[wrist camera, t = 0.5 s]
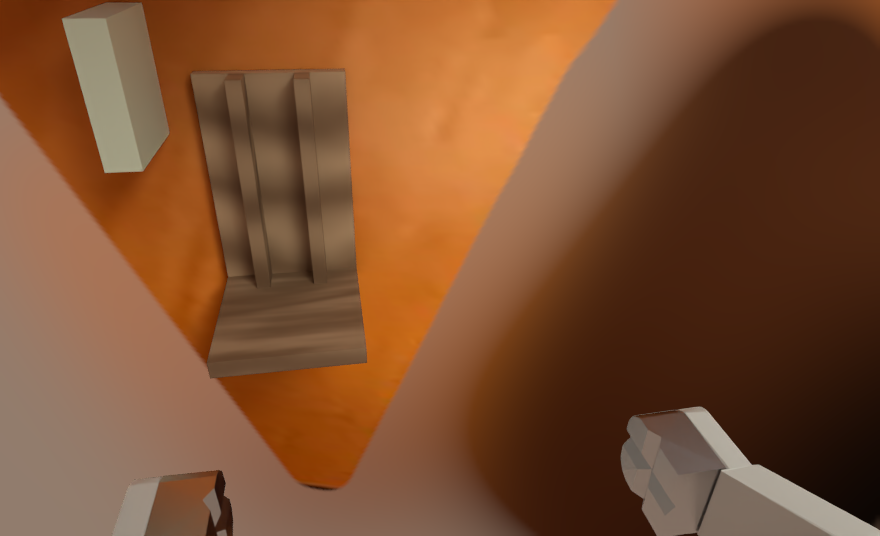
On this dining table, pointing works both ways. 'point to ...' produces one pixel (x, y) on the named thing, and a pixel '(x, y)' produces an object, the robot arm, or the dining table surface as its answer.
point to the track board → (282, 219)
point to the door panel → (118, 83)
